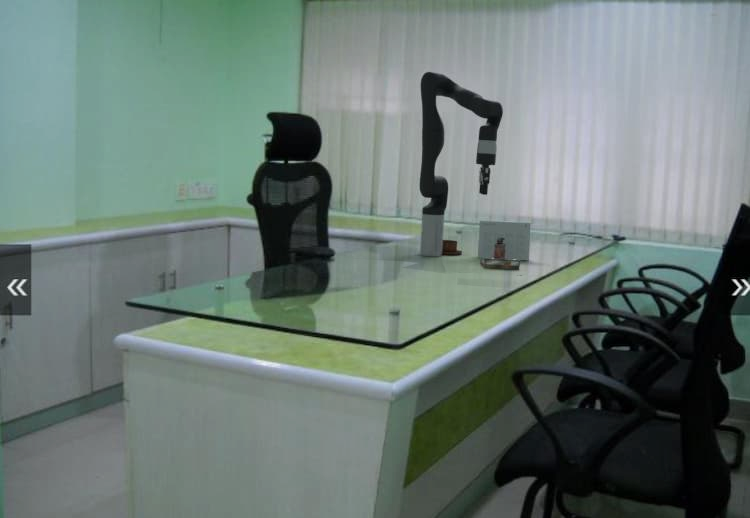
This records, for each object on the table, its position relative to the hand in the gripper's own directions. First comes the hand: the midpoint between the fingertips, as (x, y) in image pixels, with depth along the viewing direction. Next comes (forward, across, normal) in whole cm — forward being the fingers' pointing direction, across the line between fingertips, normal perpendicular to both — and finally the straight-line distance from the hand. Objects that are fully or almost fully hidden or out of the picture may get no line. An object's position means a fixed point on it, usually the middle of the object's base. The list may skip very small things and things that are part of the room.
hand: (483, 194), depth 323 cm
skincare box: (+28, +18, -12) cm, 35 cm away
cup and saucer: (+28, +25, +10) cm, 39 cm away
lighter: (+26, -10, -7) cm, 29 cm away
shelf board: (+27, -10, -7) cm, 29 cm away
